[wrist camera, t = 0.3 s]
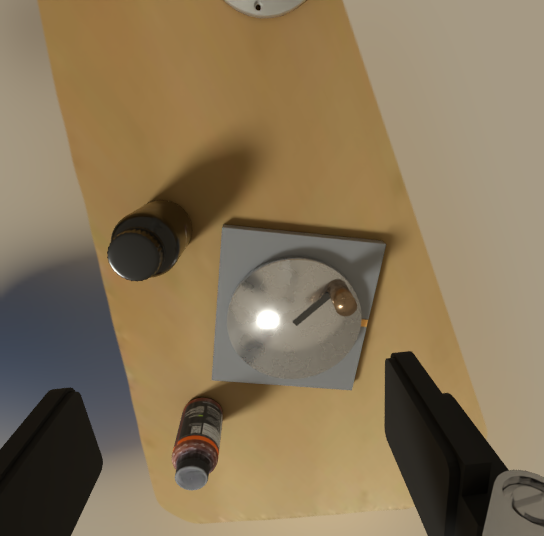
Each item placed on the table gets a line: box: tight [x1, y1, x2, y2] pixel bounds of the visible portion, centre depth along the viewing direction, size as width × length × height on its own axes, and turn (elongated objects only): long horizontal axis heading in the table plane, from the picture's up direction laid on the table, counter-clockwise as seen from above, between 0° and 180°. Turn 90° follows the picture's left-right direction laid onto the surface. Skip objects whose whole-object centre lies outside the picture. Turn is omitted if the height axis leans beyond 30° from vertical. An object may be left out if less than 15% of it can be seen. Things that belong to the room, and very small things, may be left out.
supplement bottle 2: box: [172, 398, 223, 490], centre depth 49 cm, size 6×6×11 cm
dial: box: [227, 256, 362, 379], centre depth 44 cm, size 17×17×6 cm
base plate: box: [212, 224, 386, 390], centre depth 48 cm, size 22×20×2 cm
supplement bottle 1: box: [107, 200, 192, 281], centre depth 38 cm, size 7×7×12 cm
